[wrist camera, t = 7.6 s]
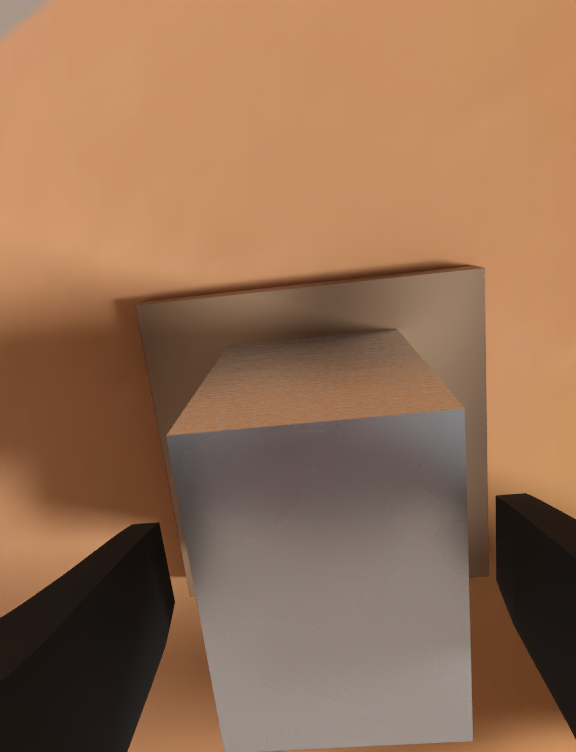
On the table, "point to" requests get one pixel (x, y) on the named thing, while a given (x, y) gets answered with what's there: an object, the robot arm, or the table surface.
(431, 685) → the brushed steel brick
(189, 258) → the table surface
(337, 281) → the thin tan panel
